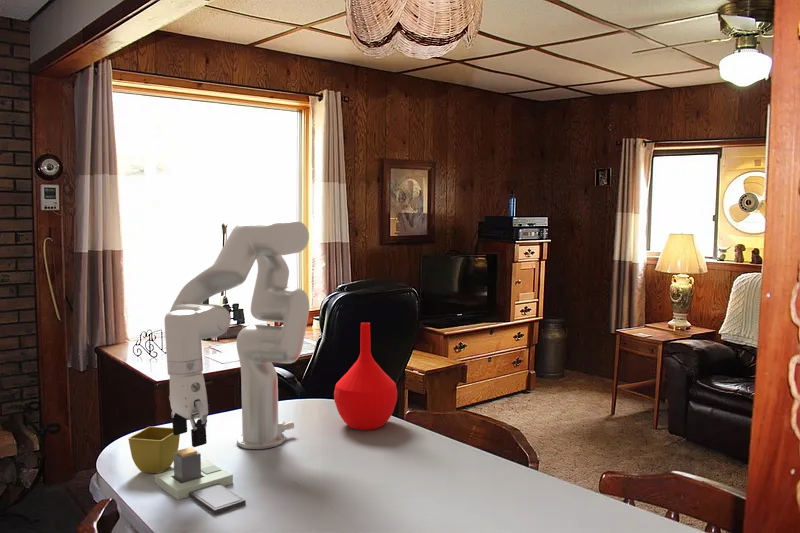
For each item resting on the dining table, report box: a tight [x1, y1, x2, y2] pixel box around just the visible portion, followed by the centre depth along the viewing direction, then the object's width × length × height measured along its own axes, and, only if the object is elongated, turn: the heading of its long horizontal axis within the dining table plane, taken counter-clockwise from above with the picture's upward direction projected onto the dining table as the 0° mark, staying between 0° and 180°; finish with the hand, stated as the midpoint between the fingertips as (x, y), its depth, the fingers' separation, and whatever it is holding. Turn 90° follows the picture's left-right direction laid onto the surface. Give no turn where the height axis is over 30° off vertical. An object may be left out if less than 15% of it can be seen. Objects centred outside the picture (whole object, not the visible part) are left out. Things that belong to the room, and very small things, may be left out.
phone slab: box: [189, 483, 247, 516], centre depth 141 cm, size 7×12×1 cm, turn 42°
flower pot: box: [128, 426, 181, 474], centre depth 158 cm, size 9×9×9 cm
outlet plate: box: [154, 460, 234, 501], centre depth 150 cm, size 13×12×2 cm
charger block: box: [173, 447, 202, 483], centre depth 149 cm, size 4×4×8 cm
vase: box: [333, 322, 398, 431], centre depth 191 cm, size 18×18×30 cm
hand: (189, 439), depth 150 cm, fingers open, 9 cm apart
